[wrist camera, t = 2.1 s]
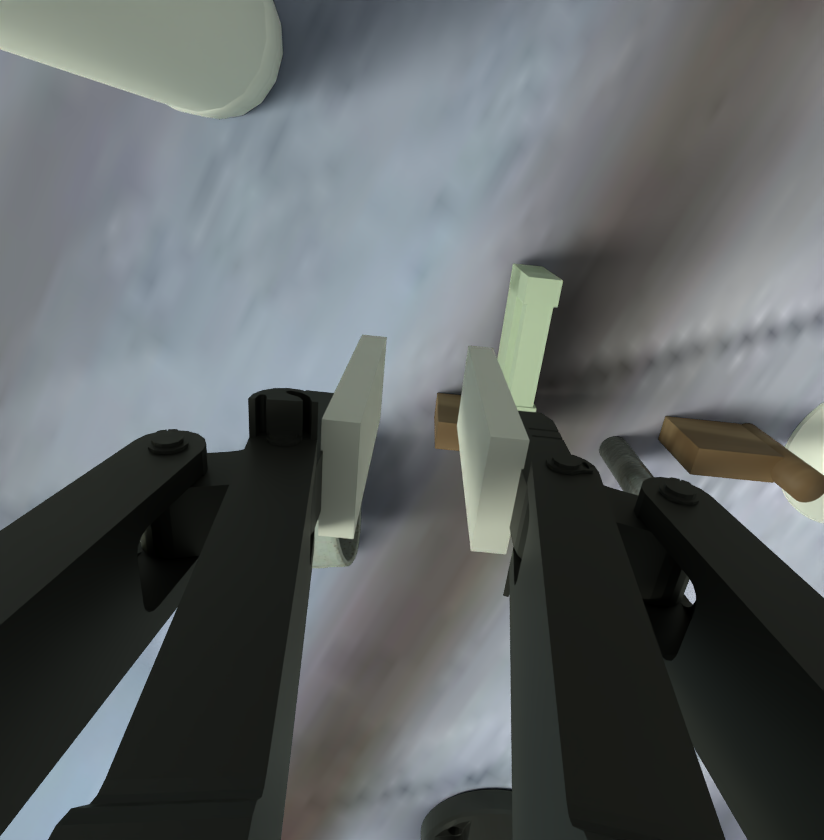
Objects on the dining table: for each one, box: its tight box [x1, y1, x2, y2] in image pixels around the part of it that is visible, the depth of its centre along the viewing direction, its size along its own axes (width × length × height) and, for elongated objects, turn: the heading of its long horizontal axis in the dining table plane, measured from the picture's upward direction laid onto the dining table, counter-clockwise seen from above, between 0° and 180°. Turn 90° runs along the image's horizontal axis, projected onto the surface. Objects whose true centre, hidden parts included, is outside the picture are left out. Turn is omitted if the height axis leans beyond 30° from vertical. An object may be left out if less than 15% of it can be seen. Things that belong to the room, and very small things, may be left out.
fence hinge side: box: [434, 393, 461, 451], centre depth 32 cm, size 2×6×10 cm, turn 85°
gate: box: [497, 264, 563, 412], centre depth 31 cm, size 8×2×6 cm, turn 174°
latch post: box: [599, 437, 653, 495], centre depth 34 cm, size 2×2×9 cm
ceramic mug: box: [312, 507, 361, 568], centre depth 37 cm, size 11×8×8 cm
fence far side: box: [658, 416, 824, 503], centre depth 34 cm, size 2×7×7 cm, turn 84°
